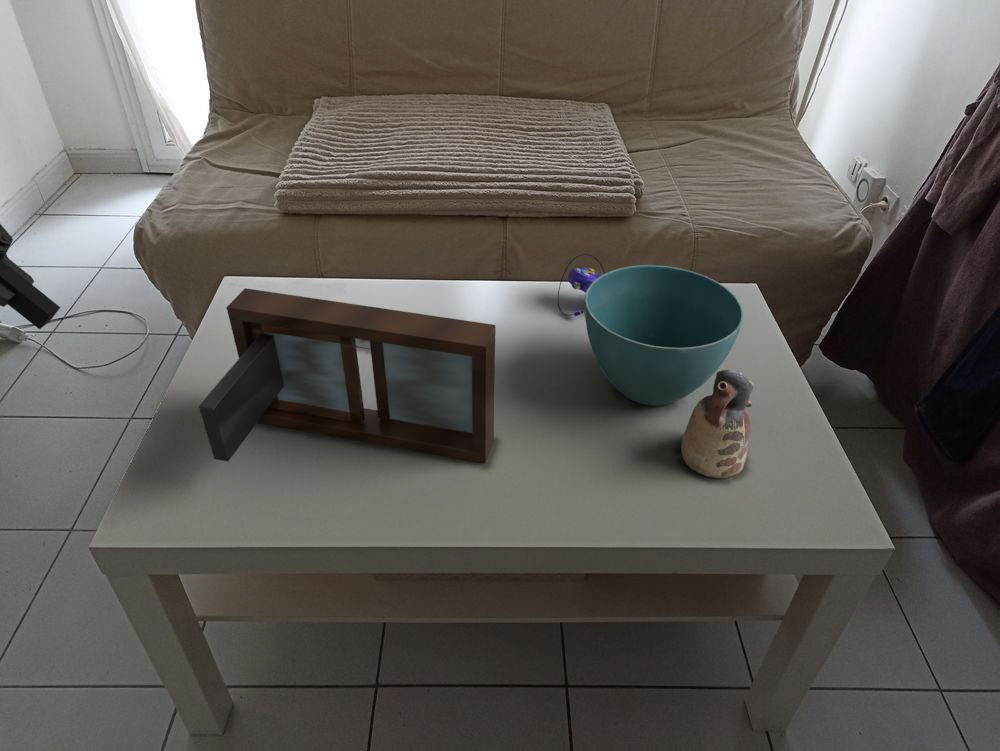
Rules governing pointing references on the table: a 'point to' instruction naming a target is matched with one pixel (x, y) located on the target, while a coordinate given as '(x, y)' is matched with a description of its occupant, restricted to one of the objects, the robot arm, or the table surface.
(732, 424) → the figurine
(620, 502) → the table surface
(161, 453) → the table surface
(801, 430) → the table surface
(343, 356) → the sliding pane
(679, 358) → the teal bowl
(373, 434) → the window frame
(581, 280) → the game controller
